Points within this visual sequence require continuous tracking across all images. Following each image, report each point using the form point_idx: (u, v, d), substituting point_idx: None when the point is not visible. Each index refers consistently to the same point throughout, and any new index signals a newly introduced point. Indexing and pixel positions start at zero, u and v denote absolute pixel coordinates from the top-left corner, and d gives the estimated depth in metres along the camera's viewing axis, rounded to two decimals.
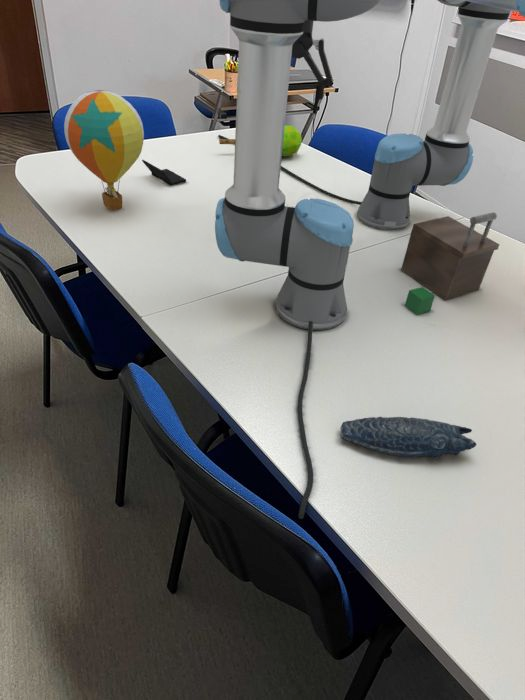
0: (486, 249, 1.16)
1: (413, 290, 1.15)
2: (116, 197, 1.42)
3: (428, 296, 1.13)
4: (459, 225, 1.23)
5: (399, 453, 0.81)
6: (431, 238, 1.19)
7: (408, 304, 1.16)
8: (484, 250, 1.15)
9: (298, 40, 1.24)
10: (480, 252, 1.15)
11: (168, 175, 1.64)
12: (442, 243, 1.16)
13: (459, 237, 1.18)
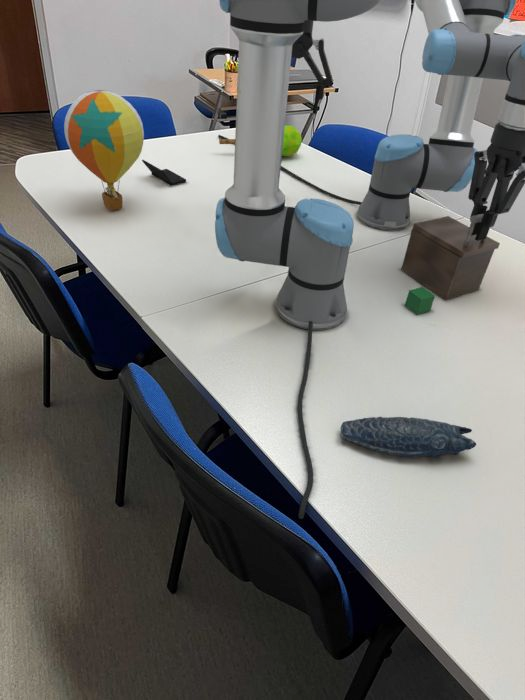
0: (486, 248, 1.15)
1: (413, 290, 1.15)
2: (116, 197, 1.42)
3: (428, 296, 1.13)
4: (459, 225, 1.23)
5: (399, 453, 0.81)
6: (431, 238, 1.19)
7: (408, 304, 1.16)
8: (485, 249, 1.15)
9: (298, 40, 1.24)
10: (480, 251, 1.15)
11: (168, 175, 1.64)
12: (442, 242, 1.16)
13: (459, 236, 1.18)
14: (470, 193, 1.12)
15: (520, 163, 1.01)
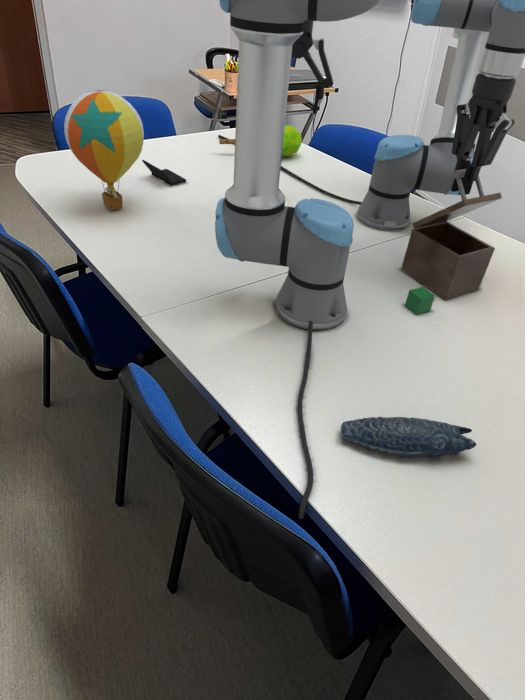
0: (488, 197, 1.12)
1: (413, 290, 1.15)
2: (116, 197, 1.42)
3: (428, 296, 1.13)
4: None
5: (399, 453, 0.81)
6: (432, 218, 1.17)
7: (408, 304, 1.16)
8: (486, 197, 1.11)
9: (298, 40, 1.24)
10: (483, 199, 1.11)
11: (168, 175, 1.64)
12: (442, 212, 1.14)
13: None
14: (453, 148, 1.13)
15: (501, 113, 1.02)
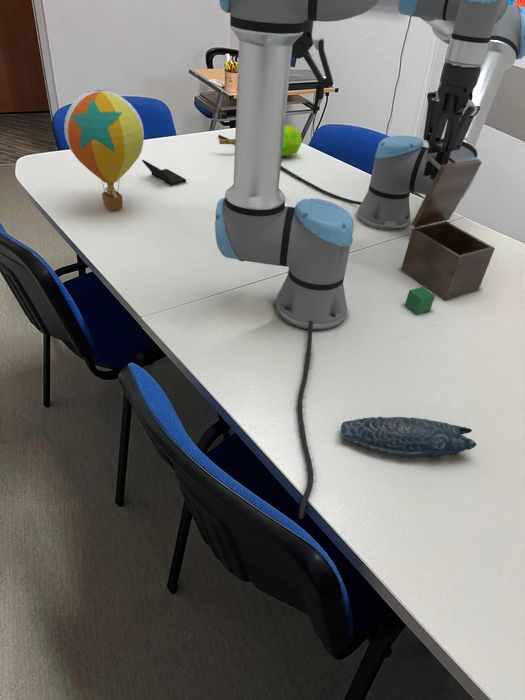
0: (466, 162, 1.14)
1: (413, 290, 1.15)
2: (116, 197, 1.42)
3: (428, 296, 1.13)
4: None
5: (399, 453, 0.81)
6: (424, 204, 1.18)
7: (408, 304, 1.16)
8: (465, 162, 1.14)
9: (298, 40, 1.24)
10: (462, 164, 1.13)
11: (168, 175, 1.64)
12: (430, 191, 1.15)
13: None
14: (425, 134, 1.18)
15: (467, 99, 1.07)
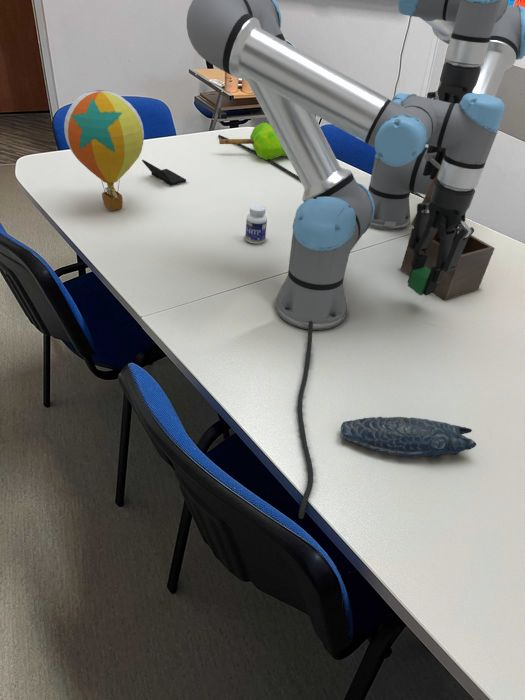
0: None
1: (417, 270, 1.12)
2: (116, 197, 1.42)
3: None
4: None
5: (399, 453, 0.81)
6: None
7: (411, 284, 1.13)
8: None
9: None
10: None
11: (168, 175, 1.64)
12: (430, 190, 1.15)
13: None
14: None
15: None
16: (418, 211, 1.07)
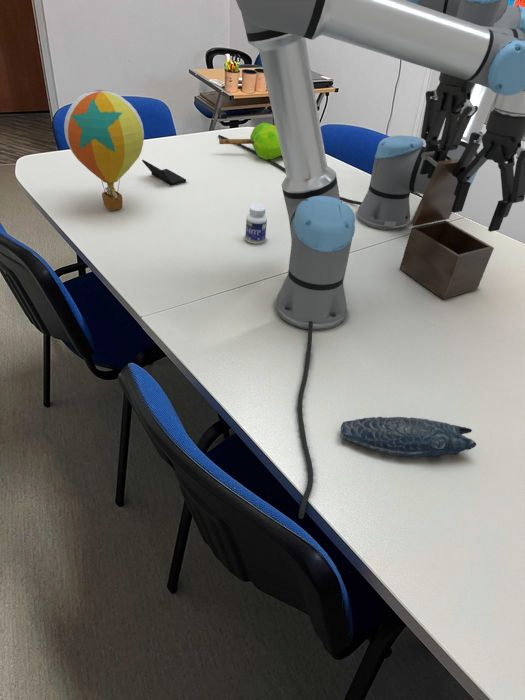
0: None
1: None
2: (116, 197, 1.42)
3: None
4: None
5: (399, 453, 0.81)
6: (423, 202, 1.18)
7: None
8: None
9: (502, 140, 1.02)
10: None
11: (168, 175, 1.64)
12: (428, 188, 1.15)
13: None
14: (422, 132, 1.18)
15: (465, 99, 1.07)
16: (470, 140, 1.08)
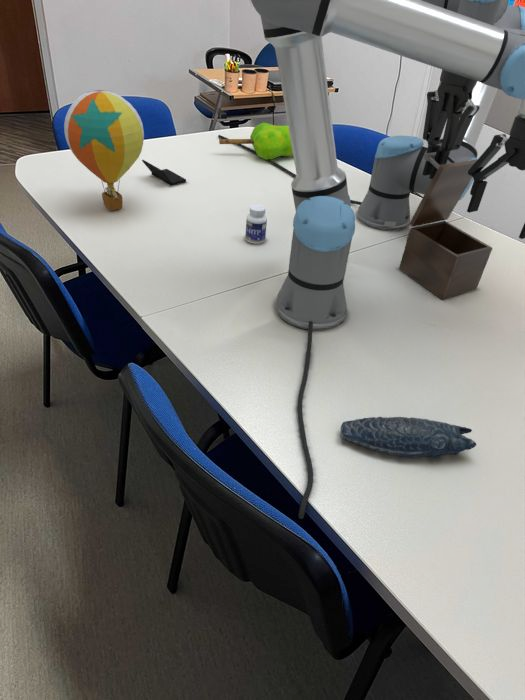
0: (465, 162, 1.14)
1: None
2: (116, 197, 1.42)
3: None
4: None
5: (399, 453, 0.81)
6: (422, 204, 1.18)
7: None
8: (464, 162, 1.14)
9: None
10: (460, 164, 1.13)
11: (168, 175, 1.64)
12: (428, 190, 1.15)
13: None
14: (424, 133, 1.18)
15: (466, 99, 1.07)
16: (492, 142, 1.04)
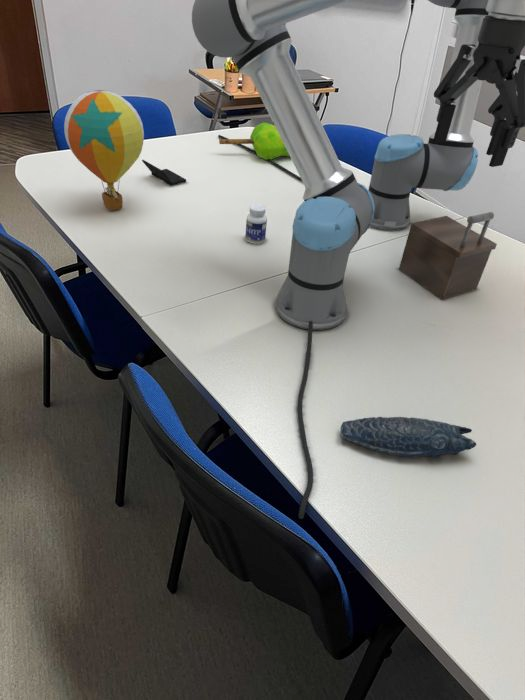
0: (483, 249, 1.16)
1: None
2: (116, 197, 1.42)
3: None
4: (457, 225, 1.23)
5: (399, 453, 0.81)
6: (428, 237, 1.19)
7: None
8: (482, 249, 1.15)
9: (496, 56, 0.84)
10: (477, 252, 1.15)
11: (168, 175, 1.64)
12: (439, 242, 1.16)
13: (456, 236, 1.18)
14: (492, 106, 1.02)
15: None
16: (460, 54, 0.90)
